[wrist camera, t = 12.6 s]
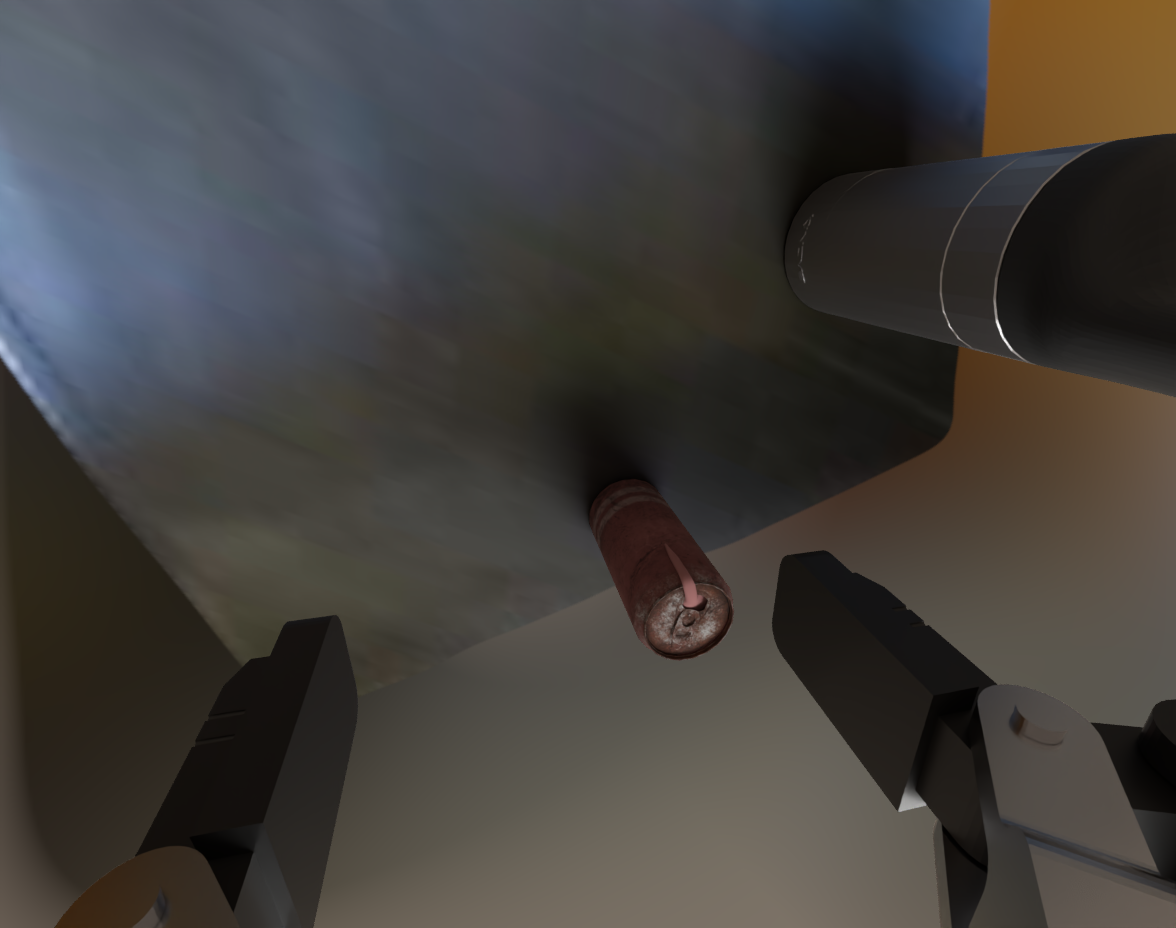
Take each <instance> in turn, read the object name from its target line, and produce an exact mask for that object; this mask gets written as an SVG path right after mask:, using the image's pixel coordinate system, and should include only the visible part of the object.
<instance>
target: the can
mask: <svg viewBox="0 0 1176 928" xmlns="http://www.w3.org/2000/svg"><path fill="white" fill-rule="evenodd" d="M589 524H590V526H591V529H592V532H593V534H594V537H595V539H596V541H597V544H598V546H599V548H600V551H601V553H602V555H603V558H604V560H605V562H606V565H607V567H608V569H609V571H610V574H611V576H612V578H613V581H614V583H615V585H616V588H617V590H618V592H619V595H620V597H621V599H622V601H623V604H624V606H625V608H626V611H627V613H628V615H629V617H630V620H631V622H632V625H633V627H634V629H635V632H636V634H637V636H638V638H639V639H640V641H641V642H642V643H643V644H644V645H645V646H646V647H647V648H649V649H651V650H653V651H654V652H655V653H656V654H657V655H659V656H661V657H663V658H666V659H670V660H679V661H680V660H686V659H693V658H695V657H698V656H700V655H703V654H705V653H707V652H708V651H710V650H711V649H713V648H714V647H715V646H717V645H718V644H719V643H720V642H721V641H722V639H723V638H724V637H725V636H726V635H727V633H728V631H729V629H730V626H731V625H732V622H733V615H734V609H733V599H732V594H731V591H730V588H729V586H728V585H727V583H726V582H725V581H724V579H723V578H722V577H721V576H720V574H719V573H718V571H717V570H716V569H715V567H714V566H713V565H712V563H711V562H710V561H709V559H708V558H707V557H706V555H705V554H704V552H703V551H702V550H701V548H700V547H699V546H698V544H697V543H696V542H695V540H694V539H693V538H692V536H691V535H690V534H689V532H688V531H687V530H686V528H685V527H684V526H683V524H682V523H681V521H680V520H679V519H678V517H677V516H676V515H675V513H674V512H673V511H672V509H671V508H670V507H669V505H668V504H667V503H666V501H665V500H664V499H663V497H662V496H661V495H660V493H659V492H658V491H657V489H656V488H655V487H654V486H652V485H651V484H649V483H647V482H646V481H642V480H637V479H627V480H621V481H618V482H616V483H613V484H611V485H609V486H608V487H607V488H605V489H604V490H603V491H601V492H600V494H599V495H598V496H597V497H596V499H595V500H594V501H593V504H592V507H591V510H590V512H589Z"/></svg>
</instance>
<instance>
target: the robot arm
mask: <svg viewBox="0 0 1176 928" xmlns="http://www.w3.org/2000/svg"><path fill="white" fill-rule="evenodd" d="M785 268H786V273H787V278H788V280H789V283H790V285H791V288H792V290H793V291H794V292H795V294H796V295H797V297H798V298H799V299H800V300H801V301H802V302H803V303H805V304H806V305H807V306H809V307H811V308H813V309H815V310H817V311H820V312H824V313H829V314H833V315H837V316H841V317H845V318H849V319H852V320H856V321H860V322H864V323H868V324H872V325H876V326H880V327H884V328H888V329H892V330H896V331H900V332H904V333H909V334H913V335H917V336H921V337H925V338H929V339H933V340H937V341H941V342H945V343H949V344H953V345H957V346H961V347H965V348H969V349H973V350H977V351H982V352H987V353H991V354H995V355H999V356H1003V357H1007V358H1011V359H1016V360H1019V361H1023V362H1028V363H1032V364H1036V365H1040V366H1044V367H1048V368H1053V369H1057V370H1062V371H1067V372H1071V373H1076V374H1080V375H1085V376H1089V377H1094V378H1098V379H1103V380H1108V381H1112V382H1117V383H1121V384H1125V385H1129V386H1133V387H1137V388H1141V389H1145V390H1150V391H1154V392H1158V393H1162V394H1165V395H1169V396H1173V397H1176V134H1162V135H1153V136H1145V137H1137V138H1129V139H1123V140H1116V141H1110V142H1101V143H1093V144H1085V145H1077V146H1070V147H1061V148H1053V149H1046V150H1039V151H1031V152H1024V153H1015V154H1006V155H999V156H990V157H982V158H974V159H965V160H957V161H949V162H941V163H933V164H924V165H916V166H908V167H900V168H889V169H881V170H873V171H865V172H857V173H849V174H846V175H842V176H838V177H835V178H833V179H831V180H829V181H827V182H826V183H824V184H822V185H821V186H820V187H819V188H817V189H816V190H815V191H814V192H813V193H812V194H811V195H810V196H809V197H808V198H807V199H806V201H805V202H804V203H803V204H802V205H801V207H800V209H799V210H798V212H797V214H796V216H795V217H794V219H793V222H792V224H791V227H790V230H789V232H788V236H787V241H786V246H785ZM772 628H773V635H774V639H775V642H776V645H777V647H778V649H779V651H780V653H781V654H782V656H783V657H784V659H785V660H786V661H787V663H788V664H789V665H790V667H791V668H792V669H793V671H794V672H795V674H796V675H797V676H798V678H799V679H800V680H801V682H802V683H803V684H804V686H805V687H806V688H807V690H808V691H809V692H810V694H811V695H812V696H813V698H814V699H815V701H816V702H817V703H818V705H819V706H820V707H821V709H822V710H823V711H824V713H825V714H826V715H827V717H828V718H829V719H830V721H831V722H832V723H833V725H834V726H835V728H836V729H837V730H838V732H839V733H840V734H841V736H842V737H843V738H844V740H845V741H846V742H847V744H848V745H849V746H850V748H851V749H852V750H853V752H854V753H855V755H856V756H857V757H858V759H859V760H860V761H861V763H862V764H863V765H864V767H865V768H866V769H867V771H868V772H869V773H870V775H871V776H872V777H873V779H874V780H875V781H876V783H877V784H878V786H879V787H880V788H881V789H882V791H883V792H884V794H885V795H886V796H887V798H888V799H889V800H890V802H891V803H892V805H893V806H894V807H895V809H896V810H897V811H898V812H900V811H905V810H909V809H913V808H917V807H922V806H926V805H927V806H928V807H929V808H930V809H931V811H932V812H933V813H934V814H935V816H936V817H937V818H936V821H935V824H934V827H933V843H934V855H935V868H936V880H937V891H938V903H939V916H940V927H941V928H1176V700H1166V701H1161V702H1160V703H1158V704H1156V705H1155V707H1154V708H1153V709H1152V711H1151V713H1150V715H1149V717H1148V719H1147V721H1146V723H1145V725H1144V727H1143V728H1141V727H1131V726H1122V725H1110V724H1101V723H1090V722H1089V721H1088V720H1087V719H1086V718H1084V717H1083V716H1082V715H1081V714H1080V713H1078V712H1077V711H1075V710H1074V709H1072V708H1071V707H1070V706H1068V705H1066V704H1065V703H1063V702H1061V701H1060V700H1058V699H1056V698H1054V697H1051V696H1049V695H1047V694H1045V693H1042V692H1039V691H1037V690H1034V689H1030V688H1027V687H1022V686H1018V685H1009V684H1004V685H1002V684H1001V685H997V684H996V683H995V682H994V681H993V680H992V679H990V678H989V677H988V676H987V675H986V674H985V673H983V672H982V671H981V670H980V669H979V668H978V667H976V666H975V665H974V664H973V663H972V662H971V661H970V660H968V659H967V658H966V657H965V656H964V655H963V654H961V653H960V652H959V651H958V650H957V649H956V648H954V647H953V646H952V645H951V644H949V642H947V641H946V640H945V639H944V638H943V637H942V636H941V635H939V634H938V633H937V632H936V631H935V630H933V629H932V628H931V627H930V626H929V625H928V626H925V624H924V621H923V620H922V619H921V618H920V617H918V616H917V615H916V614H915V613H914V612H913V611H912V610H907V609H906V605H905V604H903V603H902V602H901V601H900V600H899V599H898V598H896V597H895V596H894V595H893V594H892V593H891V592H889V591H888V590H887V589H886V588H885V587H883V586H881V585H879V584H877V583H875V582H873V581H871V580H869V579H867V578H865V577H864V576H862V575H860V574H858V573H852V572H851V571H850V570H848V569H847V568H846V567H845V566H844V565H843V564H842V563H841V562H840V561H838V560H837V559H836V558H835V557H834V556H833V555H832V554H830V553H829V552H827V551H824V550H823V551H816V552H807V553H800V554H793V555H787V556H785V557H784V558H783V559H782V561H781V564H780V569H779V577H778V583H777V590H776V598H775V604H774V612H773V618H772ZM357 714H358V696H357V687H356V682H355V678H354V674H353V670H352V665H351V661H350V657H349V653H348V649H347V644H346V640H345V636H344V632H343V628H342V624H341V621H340V619H339V617H338V616H336V615H333V616H326V617H318V618H311V619H303V620H296V621H289V622H287V623H286V624H285V625H284V626H283V628H282V630H281V633H280V635H279V637H278V639H277V642H276V644H275V646H274V648H273V651H272V653H271V655H270V656H268V657H262V658H255V659H250V660H249V661H248V662H247V663H246V664H245V665H244V666H243V667H242V668H241V669H240V670H239V671H238V672H237V673H236V674H235V675H234V676H233V677H232V678H231V679H230V680H229V681H228V682H227V683H226V684H225V685H224V686H223V688H222V690H221V692H220V694H219V696H218V698H217V700H216V702H215V704H214V706H213V707H212V709H211V711H210V713H209V719H208V721H205V723H204V725H203V727H202V729H201V731H200V733H199V734H198V736H197V738H196V745H195V747H192V748H191V750H190V752H189V754H188V756H187V758H186V760H185V761H184V764H183V765H182V767H181V769H180V771H179V773H178V775H177V777H176V779H175V781H174V783H173V785H172V787H171V789H170V790H169V793H168V794H167V796H166V798H165V800H164V802H163V804H162V806H161V808H160V810H159V812H158V814H157V816H156V818H155V819H154V821H153V824H152V825H151V827H150V829H149V831H148V833H147V835H146V837H145V839H144V841H143V843H142V845H141V847H140V848H139V850H138V852H137V854H136V855H135V857H134V858H132V859H130V860H128V861H126V862H124V863H123V864H121V865H119V866H117V867H116V868H114V869H113V870H111V871H110V872H108V873H107V874H106V875H104V876H103V877H101V878H100V879H99V880H98V881H96V882H95V883H94V884H93V885H92V886H90V887H89V888H88V889H87V890H86V891H85V892H84V893H83V894H82V895H81V896H80V897H79V898H78V899H77V900H76V901H75V902H74V903H73V904H72V905H71V906H70V908H69V909H68V910H67V911H66V912H65V913H64V914H63V916H62V917H61V919H60V920H59V922H58V923H57V925H56V926H55V927H54V928H313V926H314V922H315V917H316V912H317V907H318V902H319V898H320V893H321V889H322V884H323V879H324V874H325V870H326V865H327V860H328V855H329V851H330V846H331V841H332V836H333V832H334V827H335V823H336V818H337V813H338V808H339V804H340V799H341V794H342V789H343V785H344V780H345V775H346V771H347V765H348V762H349V757H350V752H351V747H352V743H353V738H354V733H355V728H356V723H357Z"/></svg>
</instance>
